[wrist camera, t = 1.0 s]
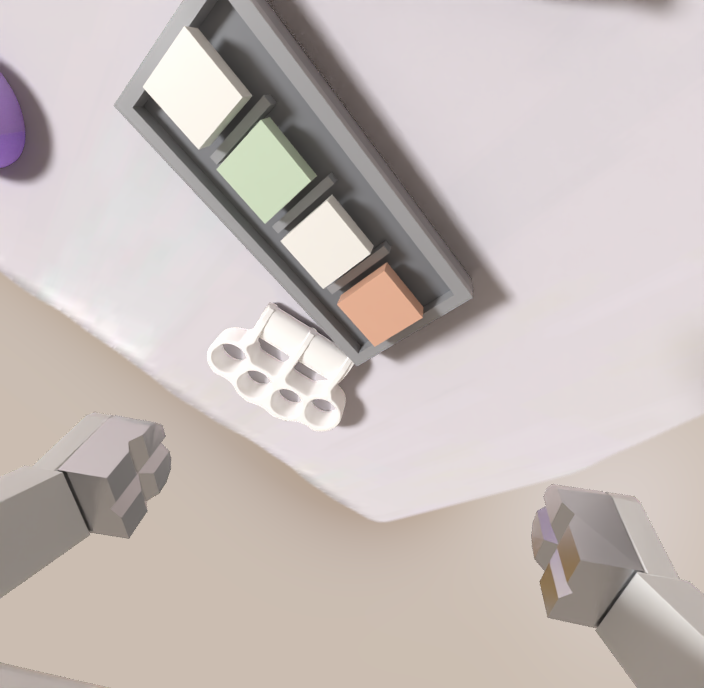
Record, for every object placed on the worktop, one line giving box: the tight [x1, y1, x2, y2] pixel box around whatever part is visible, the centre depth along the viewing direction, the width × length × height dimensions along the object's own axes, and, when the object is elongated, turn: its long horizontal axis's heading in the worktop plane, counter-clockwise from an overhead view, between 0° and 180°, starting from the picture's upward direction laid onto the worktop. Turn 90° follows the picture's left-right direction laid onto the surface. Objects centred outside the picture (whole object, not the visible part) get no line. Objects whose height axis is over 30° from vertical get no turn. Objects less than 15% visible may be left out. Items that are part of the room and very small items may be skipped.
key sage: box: [216, 117, 317, 223], centre depth 35 cm, size 6×6×2 cm
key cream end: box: [143, 26, 252, 150], centre depth 33 cm, size 6×6×2 cm
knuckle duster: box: [207, 303, 354, 432], centre depth 52 cm, size 3×18×15 cm
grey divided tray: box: [114, 0, 473, 366], centre depth 39 cm, size 14×32×4 cm, turn 40°
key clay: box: [337, 262, 424, 347], centre depth 40 cm, size 6×6×2 cm
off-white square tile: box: [281, 195, 374, 289], centre depth 37 cm, size 6×6×2 cm
